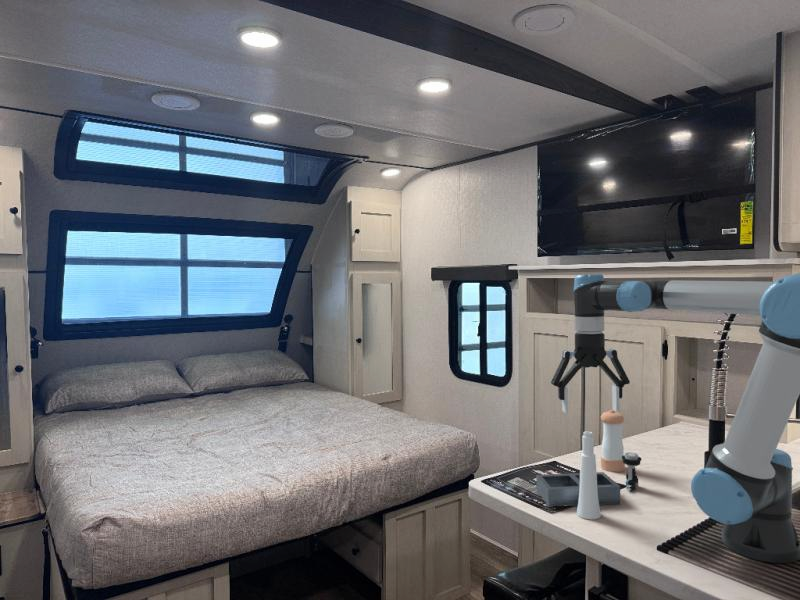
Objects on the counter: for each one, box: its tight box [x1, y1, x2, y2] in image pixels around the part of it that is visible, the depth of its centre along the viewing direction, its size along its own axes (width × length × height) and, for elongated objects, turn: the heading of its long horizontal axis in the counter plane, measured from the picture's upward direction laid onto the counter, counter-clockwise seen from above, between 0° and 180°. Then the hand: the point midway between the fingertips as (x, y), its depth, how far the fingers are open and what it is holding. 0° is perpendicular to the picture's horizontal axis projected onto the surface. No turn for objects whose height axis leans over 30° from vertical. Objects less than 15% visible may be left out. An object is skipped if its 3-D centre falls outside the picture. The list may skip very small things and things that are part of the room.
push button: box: [622, 452, 642, 491], centre depth 159 cm, size 7×5×10 cm
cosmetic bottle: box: [576, 430, 602, 521], centre depth 142 cm, size 6×6×22 cm
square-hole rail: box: [535, 471, 621, 508], centre depth 154 cm, size 20×11×5 cm, turn 92°
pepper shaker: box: [600, 409, 626, 473], centre depth 176 cm, size 7×7×19 cm
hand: (590, 411), depth 145 cm, fingers open, 13 cm apart
